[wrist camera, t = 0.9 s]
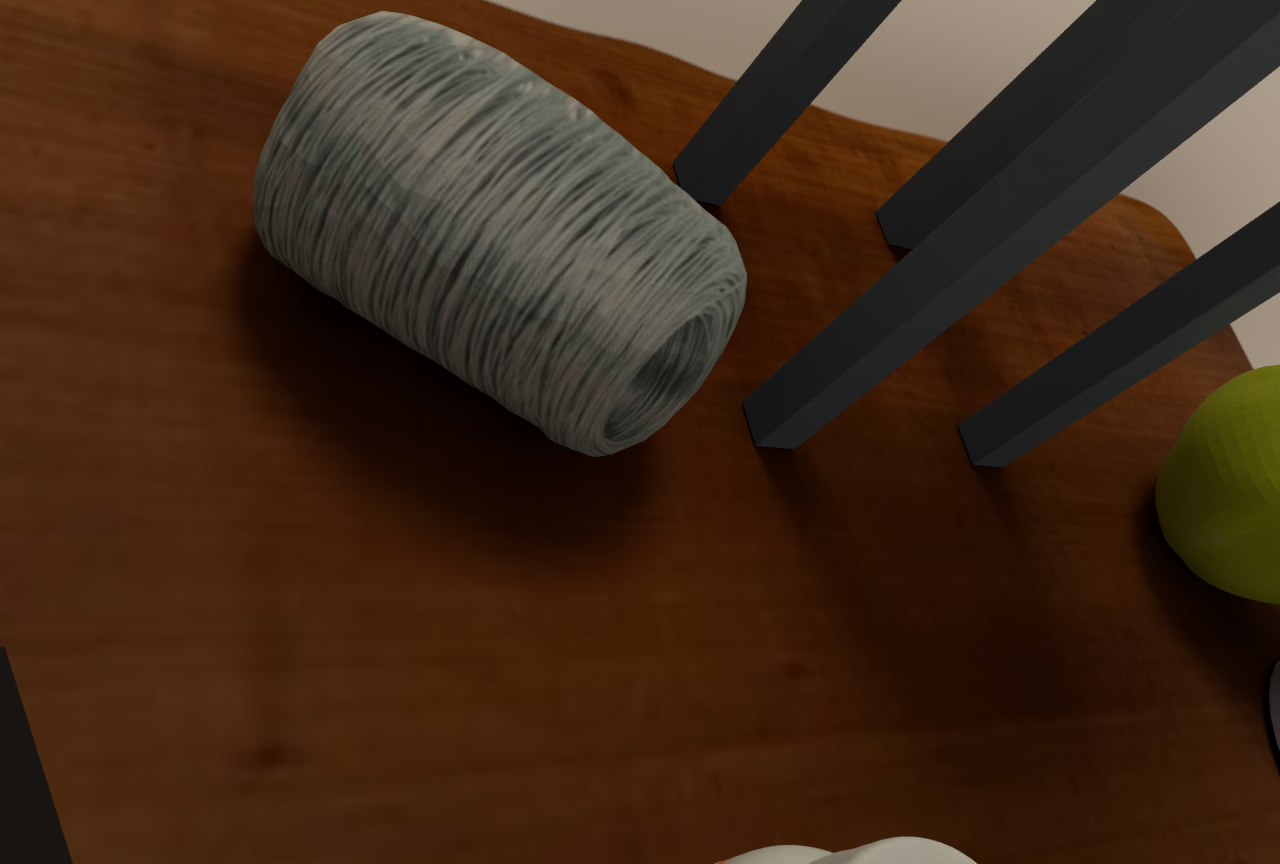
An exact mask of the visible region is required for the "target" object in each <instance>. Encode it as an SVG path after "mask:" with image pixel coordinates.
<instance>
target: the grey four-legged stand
mask: <svg viewBox="0 0 1280 864" xmlns="http://www.w3.org/2000/svg"><path fill="white" fill-rule="evenodd" d="M900 1H901V0H802V1H801V2H800V4H799V5H798V6H797V7H796V9H795V10H794V11H793V12H792V14H791V15H790V16H789V17H788V19H787V20H786V21H785V22H784V24H783V25H782V26H781V27H780V29H779V30H778V31H777V32H776V34H775V35H774V36H773V37H772V39H771V40H770V41H769V42H768V44H767V45H766V46H765V47H764V49H763V50H762V51H761V52H760V54H759V55H758V56H757V57H756V59H755V60H754V61H753V62H752V64H751V65H750V66H749V67H748V69H747V70H746V71H745V73H744V74H743V75H742V76H741V77H740V79H739V80H738V81H737V82H736V84H735V85H734V86H733V87H732V89H731V90H730V91H729V92H728V94H727V95H726V96H725V97H724V99H723V100H722V101H721V102H720V104H719V105H718V106H717V107H716V109H715V110H714V111H713V112H712V114H711V115H710V116H709V117H708V119H707V120H706V121H705V122H704V124H703V125H702V126H701V127H700V129H699V130H698V131H697V132H696V134H695V135H694V136H693V137H692V139H691V140H690V141H689V143H688V144H687V145H686V146H685V148H684V149H683V150H682V151H681V153H680V154H679V155H678V156H677V158H676V159H675V160H674V162H673V163H674V167H675V170H676V174H677V177H678V181H679V184H680V187H681V189H683V190H684V191H685V192H686V193H687V194H688V195H690V196H691V197H692V198H693V199H694V200H698V201H702V202H706V203H711V204H715V205H721V204H722V203H723V202H724V201H725V200H726V199H727V198H728V197H729V195H730V194H731V193H732V192H733V191H734V190H735V189H736V187H737V186H738V185H739V184H740V183H741V182H742V181H743V180H744V178H745V177H746V176H747V175H748V174H749V173H750V172H751V170H752V169H753V168H754V167H755V166H756V165H757V164H758V163H759V161H760V160H761V159H762V158H763V157H764V156H765V155H766V153H767V152H768V151H769V150H770V149H771V148H772V147H773V146H774V144H775V143H776V142H777V141H778V140H779V139H780V138H781V136H782V135H783V134H784V133H785V132H786V131H787V130H788V128H789V127H790V126H791V125H792V124H793V123H794V122H795V121H796V119H797V118H798V117H799V116H800V115H801V114H802V113H803V111H804V110H805V109H806V108H807V107H808V106H809V105H810V104H811V102H812V101H813V100H814V99H815V98H816V97H817V96H818V94H819V93H820V92H821V91H822V90H823V89H824V88H825V86H826V85H827V84H828V83H829V82H830V81H831V80H832V79H833V77H834V76H835V75H836V74H837V73H838V72H839V71H840V69H841V68H842V67H843V66H844V65H845V64H846V63H847V61H848V60H849V59H850V58H851V57H852V56H853V54H854V53H855V52H856V51H857V50H858V49H859V48H860V47H861V46H862V44H863V43H864V42H865V41H866V40H867V39H868V38H869V37H870V35H871V34H872V33H873V32H874V31H875V30H876V29H877V27H878V26H879V25H880V24H881V23H882V22H883V21H884V20H885V18H886V17H887V16H888V15H889V14H890V13H891V12H892V11H893V9H894V8H895V7H896V6H897V5H898V4H899V2H900ZM1279 66H1280V0H1096V1H1095V2H1094V3H1093V4H1092V5H1091V6H1090V7H1089V8H1088V9H1087V10H1086V11H1085V12H1084V13H1083V14H1082V15H1081V16H1080V17H1079V18H1078V19H1076V20H1075V21H1074V22H1073V23H1072V24H1071V25H1070V26H1069V27H1068V28H1067V29H1066V30H1065V31H1064V32H1063V33H1062V34H1061V35H1060V36H1059V37H1058V38H1057V39H1056V40H1055V41H1054V42H1052V44H1050V45H1049V46H1048V47H1047V48H1046V49H1045V50H1044V51H1043V52H1042V53H1041V54H1040V55H1039V56H1038V57H1037V58H1036V59H1035V60H1034V61H1033V62H1032V63H1031V64H1030V65H1029V66H1027V67H1026V68H1025V69H1024V70H1023V71H1022V72H1021V73H1020V74H1019V75H1018V76H1017V77H1016V78H1015V79H1014V80H1013V81H1012V82H1011V83H1010V84H1009V85H1008V86H1007V87H1006V88H1004V89H1003V90H1002V91H1001V92H1000V93H999V94H998V95H997V96H996V97H995V98H994V99H993V100H992V101H991V102H990V103H989V104H988V105H987V106H986V107H985V108H984V109H983V110H982V111H980V112H979V113H978V114H977V115H976V116H975V117H974V118H973V119H972V120H971V121H970V122H969V123H968V124H967V125H966V126H965V127H964V128H963V129H962V130H961V131H960V132H959V133H957V134H956V135H955V136H954V137H953V138H952V139H951V140H950V141H949V142H948V143H947V144H946V145H945V146H944V147H943V148H942V149H941V150H940V151H939V152H938V153H937V154H936V155H935V156H933V157H932V158H931V159H930V160H929V161H928V162H927V163H926V164H925V165H924V166H923V167H922V168H921V169H920V170H919V171H918V172H917V173H916V174H915V175H914V176H913V177H912V178H911V179H909V180H908V181H907V182H906V183H905V184H904V185H903V186H902V187H901V188H900V189H899V190H898V191H897V192H896V193H895V194H894V195H893V196H892V197H891V198H890V199H889V200H888V201H887V202H885V203H884V204H883V205H882V206H881V207H880V208H879V209H878V210H877V211H876V214H877V216H878V219H879V222H880V224H881V227H882V229H883V232H884V235H885V237H886V240H887V243H888V244H891V245H895V246H900V247H904V248H908V249H913V250H912V251H911V252H910V253H909V254H908V255H906V256H905V257H904V258H903V259H902V260H901V261H900V262H899V263H897V264H896V265H895V266H894V267H893V268H892V269H891V270H890V271H888V272H887V273H886V274H885V275H884V276H883V277H882V278H881V279H879V280H878V281H877V282H876V283H875V284H874V285H873V286H872V287H870V288H869V289H868V290H867V291H866V292H865V293H864V294H863V295H861V296H860V297H859V298H858V299H857V300H856V301H855V302H854V303H852V304H851V305H850V306H849V307H848V308H847V309H846V310H845V311H843V312H842V313H841V314H840V315H839V316H838V317H837V318H836V319H834V320H833V321H832V322H831V323H830V324H829V325H828V326H827V327H825V328H824V329H823V330H822V331H821V332H820V333H819V334H818V335H816V336H815V337H814V338H813V339H812V340H811V341H810V342H809V343H807V344H806V345H805V346H804V347H803V348H802V349H801V350H800V351H798V352H797V353H796V354H795V355H794V356H793V357H792V358H791V359H789V360H788V361H787V362H786V363H785V364H784V365H783V366H782V367H780V368H779V369H778V370H777V371H776V372H775V373H774V374H773V375H771V376H770V377H769V378H768V379H767V380H766V381H765V382H764V383H762V384H761V385H760V386H759V387H758V388H757V389H756V390H755V391H753V392H752V393H751V394H750V395H749V396H748V397H747V398H746V399H744V400H743V405H744V408H745V412H746V415H747V419H748V422H749V426H750V429H751V433H752V436H753V440H754V443H755V445H756V446H764V447H775V448H787V449H796V448H797V447H798V446H800V445H801V444H802V443H803V442H805V441H806V440H807V439H808V438H810V437H811V436H812V435H814V434H815V433H816V432H817V431H819V430H820V429H821V428H822V427H824V426H825V425H826V424H827V423H829V422H830V421H831V420H832V419H834V418H835V417H836V416H838V415H839V414H840V413H841V412H843V411H844V410H845V409H846V408H848V407H849V406H850V405H851V404H853V403H854V402H855V401H857V400H858V399H859V398H860V397H862V396H863V395H864V394H865V393H867V392H868V391H869V390H870V389H872V388H873V387H874V386H876V385H877V384H878V383H879V382H881V381H882V380H883V379H884V378H886V377H887V376H888V375H889V374H891V373H892V372H893V371H895V370H896V369H897V368H898V367H900V366H901V365H902V364H903V363H905V362H906V361H907V360H908V359H910V358H911V357H912V356H914V355H915V354H916V353H917V352H919V351H920V350H921V349H922V348H924V347H925V346H926V345H927V344H929V343H930V342H931V341H932V340H934V339H935V338H936V337H938V336H939V335H940V334H941V333H943V332H944V331H945V330H946V329H948V328H949V327H950V326H951V325H953V324H954V323H955V322H957V321H958V320H959V319H960V318H962V317H963V316H964V315H965V314H967V313H968V312H969V311H970V310H972V309H973V308H974V307H976V306H977V305H978V304H979V303H981V302H982V301H983V300H984V299H986V298H987V297H988V296H989V295H991V294H992V293H993V292H995V291H996V290H997V289H998V288H1000V287H1001V286H1002V285H1003V284H1005V283H1006V282H1007V281H1008V280H1010V279H1011V278H1012V277H1013V276H1015V275H1016V274H1017V273H1019V272H1020V271H1021V270H1022V269H1024V268H1025V267H1026V266H1027V265H1029V264H1030V263H1031V262H1032V261H1034V260H1035V259H1036V258H1038V257H1039V256H1040V255H1041V254H1043V253H1044V252H1045V251H1046V250H1048V249H1049V248H1050V247H1051V246H1053V245H1054V244H1055V243H1057V242H1058V241H1059V240H1060V239H1062V238H1063V237H1064V236H1065V235H1067V234H1068V233H1069V232H1070V231H1072V230H1073V229H1074V228H1076V227H1077V226H1078V225H1079V224H1081V223H1082V222H1083V221H1084V220H1086V219H1087V218H1088V217H1089V216H1091V215H1092V214H1093V213H1094V212H1096V211H1097V210H1098V209H1100V208H1101V207H1102V206H1103V205H1105V204H1106V203H1107V202H1108V201H1110V200H1111V199H1112V198H1113V197H1115V196H1116V195H1117V194H1119V193H1120V192H1121V191H1122V190H1123V189H1125V188H1126V187H1127V186H1129V185H1130V184H1131V183H1132V182H1134V181H1135V180H1136V179H1137V178H1139V177H1140V176H1141V175H1143V174H1144V173H1145V172H1146V171H1148V170H1149V169H1150V168H1151V167H1153V166H1154V165H1155V164H1156V163H1158V162H1159V161H1160V160H1162V159H1163V158H1164V157H1165V156H1167V155H1168V154H1169V153H1170V152H1172V151H1173V150H1174V149H1176V148H1177V147H1178V146H1179V145H1181V144H1182V143H1183V142H1184V141H1186V140H1187V139H1188V138H1189V137H1191V136H1192V135H1193V134H1194V133H1196V132H1197V131H1198V130H1199V129H1201V128H1202V127H1203V126H1204V125H1206V124H1207V123H1208V122H1210V121H1211V120H1212V119H1213V118H1215V117H1216V116H1217V115H1218V114H1220V113H1221V112H1222V111H1224V110H1225V109H1226V108H1227V107H1229V106H1230V105H1231V104H1232V103H1233V102H1235V101H1236V100H1238V99H1239V98H1240V97H1241V96H1242V95H1244V94H1245V93H1246V92H1248V91H1249V90H1250V89H1251V88H1253V87H1254V86H1255V85H1257V84H1258V83H1259V82H1260V81H1262V80H1263V79H1264V78H1265V77H1267V76H1268V75H1269V74H1270V73H1272V72H1273V71H1274V70H1275V69H1277V68H1278V67H1279ZM1279 292H1280V202H1278V203H1277V204H1276V205H1274V206H1273V207H1271V208H1270V209H1269V210H1267V211H1266V212H1264V213H1263V214H1261V215H1260V216H1258V217H1257V218H1255V219H1254V220H1253V221H1251V222H1250V223H1248V224H1247V225H1245V226H1244V227H1243V228H1241V229H1240V230H1239V231H1237V232H1235V233H1234V234H1232V235H1231V236H1230V237H1228V238H1227V239H1225V240H1224V241H1222V242H1221V243H1220V244H1218V245H1217V246H1215V247H1214V248H1212V249H1211V250H1210V251H1208V252H1207V253H1205V254H1204V255H1202V256H1201V257H1199V258H1198V259H1197V260H1195V261H1194V262H1192V263H1191V264H1189V265H1188V266H1186V267H1185V268H1184V269H1182V270H1181V271H1179V272H1178V273H1176V274H1175V275H1174V276H1172V277H1171V278H1169V279H1168V280H1166V281H1165V282H1163V283H1162V284H1161V285H1159V286H1158V287H1156V288H1155V289H1153V290H1152V291H1151V292H1149V293H1148V294H1146V295H1145V296H1143V297H1142V298H1140V299H1139V300H1138V301H1136V302H1135V303H1133V304H1132V305H1130V306H1129V307H1128V308H1126V309H1125V310H1123V311H1122V312H1120V313H1119V314H1117V315H1116V316H1115V317H1113V318H1112V319H1110V320H1109V321H1107V322H1106V323H1105V324H1103V325H1102V326H1100V327H1099V328H1097V329H1096V330H1094V331H1093V332H1092V333H1090V334H1089V335H1087V336H1086V337H1084V338H1083V339H1082V340H1080V341H1079V342H1077V343H1076V344H1074V345H1073V346H1072V347H1070V348H1069V349H1067V350H1066V351H1064V352H1063V353H1061V354H1060V355H1059V356H1057V357H1056V358H1054V359H1053V360H1051V361H1050V362H1049V363H1047V364H1046V365H1044V366H1043V367H1041V368H1040V369H1038V370H1037V371H1036V372H1034V373H1033V374H1031V375H1030V376H1028V377H1027V378H1026V379H1024V380H1023V381H1021V382H1020V383H1018V384H1017V385H1015V386H1014V387H1013V388H1011V389H1010V390H1008V391H1007V392H1005V393H1004V394H1003V395H1001V396H1000V397H998V398H997V399H995V400H994V401H992V402H991V403H990V404H988V405H987V406H985V407H984V408H982V409H981V410H980V411H978V412H977V413H975V414H974V415H972V416H971V417H969V418H968V419H967V420H965V421H964V422H962V423H961V424H959V425H958V428H959V430H960V433H961V436H962V438H963V441H964V443H965V446H966V449H967V451H968V454H969V457H970V459H971V462H972V464H973V465H981V466H992V467H1004V466H1006V465H1007V464H1009V463H1011V462H1012V461H1014V460H1015V459H1017V458H1018V457H1020V456H1022V455H1023V454H1025V453H1026V452H1028V451H1029V450H1031V449H1033V448H1034V447H1036V446H1037V445H1039V444H1041V443H1042V442H1044V441H1045V440H1047V439H1048V438H1050V437H1052V436H1053V435H1055V434H1056V433H1058V432H1059V431H1061V430H1063V429H1064V428H1066V427H1067V426H1069V425H1071V424H1072V423H1074V422H1075V421H1077V420H1078V419H1080V418H1082V417H1083V416H1085V415H1086V414H1088V413H1090V412H1091V411H1093V410H1094V409H1096V408H1097V407H1099V406H1101V405H1102V404H1104V403H1105V402H1107V401H1108V400H1110V399H1112V398H1113V397H1115V396H1116V395H1118V394H1120V393H1121V392H1123V391H1124V390H1126V389H1127V388H1129V387H1131V386H1132V385H1134V384H1135V383H1137V382H1139V381H1140V380H1142V379H1143V378H1145V377H1146V376H1148V375H1150V374H1151V373H1153V372H1154V371H1156V370H1157V369H1159V368H1161V367H1162V366H1164V365H1165V364H1167V363H1169V362H1170V361H1172V360H1173V359H1175V358H1176V357H1178V356H1180V355H1181V354H1183V353H1184V352H1186V351H1187V350H1189V349H1191V348H1192V347H1194V346H1195V345H1197V344H1199V343H1200V342H1202V341H1203V340H1205V339H1206V338H1208V337H1210V336H1211V335H1213V334H1214V333H1216V332H1218V331H1219V330H1221V329H1222V328H1224V327H1225V326H1227V325H1229V324H1230V323H1232V322H1233V321H1235V320H1236V319H1238V318H1240V317H1241V316H1243V315H1244V314H1246V313H1248V312H1249V311H1251V310H1252V309H1254V308H1255V307H1257V306H1259V305H1260V304H1262V303H1263V302H1265V301H1266V300H1268V299H1270V298H1271V297H1273V296H1274V295H1276V294H1278V293H1279Z"/></svg>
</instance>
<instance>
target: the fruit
mask: <svg viewBox="0 0 1280 864" xmlns="http://www.w3.org/2000/svg"><path fill="white" fill-rule="evenodd" d="M1155 503H1156V510H1157V514H1158V519H1159V523H1160V527H1161V530H1162V533H1163V536H1164V538H1165V540H1166V542H1167V543H1168V545H1169V546H1170V547H1171V548H1172V549H1173V550H1174V551H1175V552H1176V553H1177V554H1178V555H1179V557H1180V558H1181V559H1182V560H1183V561H1184V563H1185V564H1186V565H1187V566H1188V567H1189V569H1190V570H1191V571H1192V572H1193V573H1194V574H1196V575H1197V576H1198V577H1200V578H1201V579H1203V580H1204V581H1206V582H1207V583H1209V584H1211V585H1213V586H1215V587H1216V588H1219V589H1221V590H1223V591H1225V592H1228V593H1231V594H1234V595H1236V596H1239V597H1243V598H1247V599H1251V600H1255V601H1260V602H1266V603H1272V604H1280V365H1275V366H1266V367H1261V368H1258V369H1255V370H1251V371H1248V372H1245V373H1243V374H1241V375H1239V376H1237V377H1235V378H1233V379H1232V380H1230V381H1228V382H1227V383H1225V384H1224V385H1222V386H1221V387H1219V388H1218V389H1217V390H1216V391H1214V392H1213V393H1212V394H1211V395H1210V396H1209V397H1207V398H1206V399H1205V400H1204V401H1203V402H1202V403H1201V404H1200V406H1199V407H1198V408H1197V409H1196V410H1195V412H1194V413H1193V414H1192V416H1191V417H1190V418H1189V420H1188V421H1187V423H1186V424H1185V426H1184V428H1183V429H1182V431H1181V433H1180V435H1179V436H1178V438H1177V440H1176V442H1175V444H1174V445H1173V447H1172V449H1171V451H1170V453H1169V454H1168V456H1167V458H1166V460H1165V462H1164V464H1163V466H1162V468H1161V471H1160V473H1159V476H1158V479H1157V484H1156V489H1155Z"/></svg>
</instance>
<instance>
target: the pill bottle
mask: <svg viewBox="0 0 1280 864" xmlns="http://www.w3.org/2000/svg"><path fill="white" fill-rule="evenodd" d="M716 864H977V863H975V862H974V861H973V860H972V859H971V858H969V857H967V856H966V855H964V854H963V853H961V852H959V851H958V850H956V849H954V848H953V847H950V846H948V845H945V844H943V843H940V842H936V841H933V840H929V839H924V838H919V837H896V838H889V839H885V840H880V841H877V842H874V843H870V844H867V845H864V846H861V847H858V848H855V849H851V850H845V851H840V852H837V853H831V852H828V851H825V850H821V849H818V848H813V847H807V846H798V845H781V846H772V847H766V848H762V849H758V850H754V851H750V852H747V853H745V854H742V855H739V856H736V857H733V858H731V859H727V860H724V861H721V862H718V863H716Z"/></svg>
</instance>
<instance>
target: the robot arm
mask: <svg viewBox="0 0 1280 864" xmlns="http://www.w3.org/2000/svg"><path fill="white" fill-rule="evenodd" d="M0 864H73V863H72V860H71V857H70V854H69V851H68V847H67V844H66V841H65V838H64V835H63V832H62V828H61V825H60V822H59V819H58V816H57V812H56V809H55V806H54V803H53V800H52V797H51V793H50V790H49V787H48V784H47V781H46V777H45V774H44V771H43V768H42V765H41V762H40V758H39V755H38V752H37V749H36V746H35V742H34V739H33V736H32V733H31V730H30V727H29V723H28V720H27V717H26V714H25V711H24V707H23V704H22V701H21V698H20V695H19V692H18V688H17V685H16V682H15V679H14V676H13V672H12V669H11V666H10V663H9V660H8V657H7V653H6V650H5V647H0Z"/></svg>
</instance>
